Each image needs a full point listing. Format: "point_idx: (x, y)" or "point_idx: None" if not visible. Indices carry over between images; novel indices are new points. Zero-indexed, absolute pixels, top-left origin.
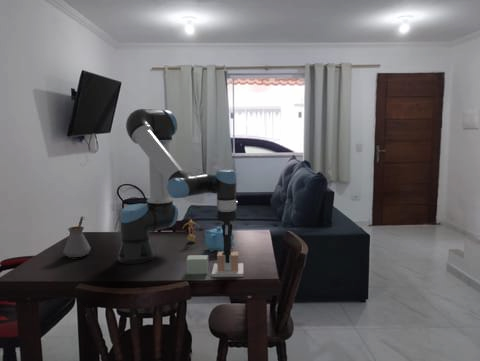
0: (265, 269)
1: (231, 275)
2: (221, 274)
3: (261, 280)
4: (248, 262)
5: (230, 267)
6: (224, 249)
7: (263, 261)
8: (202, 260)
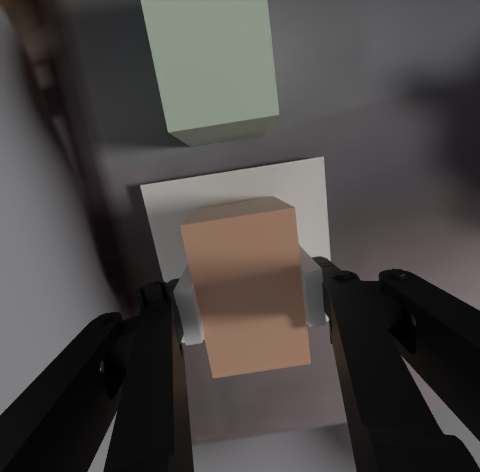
0: (287, 405)
1: None
2: (154, 239)
3: None
4: None
5: None
6: (66, 357)
7: None
8: (162, 91)
